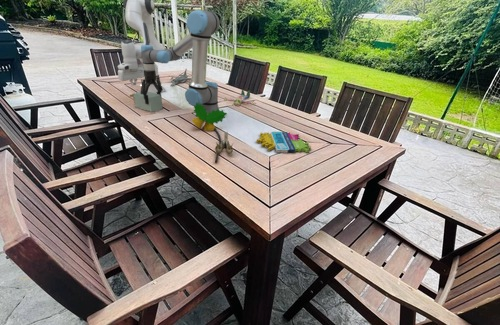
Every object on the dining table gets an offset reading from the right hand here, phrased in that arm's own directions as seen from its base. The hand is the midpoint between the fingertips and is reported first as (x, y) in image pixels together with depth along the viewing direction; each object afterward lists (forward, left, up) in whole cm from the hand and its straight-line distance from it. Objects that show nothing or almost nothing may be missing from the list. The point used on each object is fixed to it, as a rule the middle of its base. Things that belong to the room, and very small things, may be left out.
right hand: (153, 102), depth 187 cm
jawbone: (-73, -38, -5) cm, 83 cm away
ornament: (-41, -35, -5) cm, 54 cm away
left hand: (+14, +13, +9) cm, 21 cm away
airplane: (+88, -23, -5) cm, 91 cm away
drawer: (+8, +7, -4) cm, 12 cm away
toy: (+16, -69, -5) cm, 71 cm away
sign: (-68, -73, -5) cm, 100 cm away
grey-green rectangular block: (+4, +4, -5) cm, 8 cm away
